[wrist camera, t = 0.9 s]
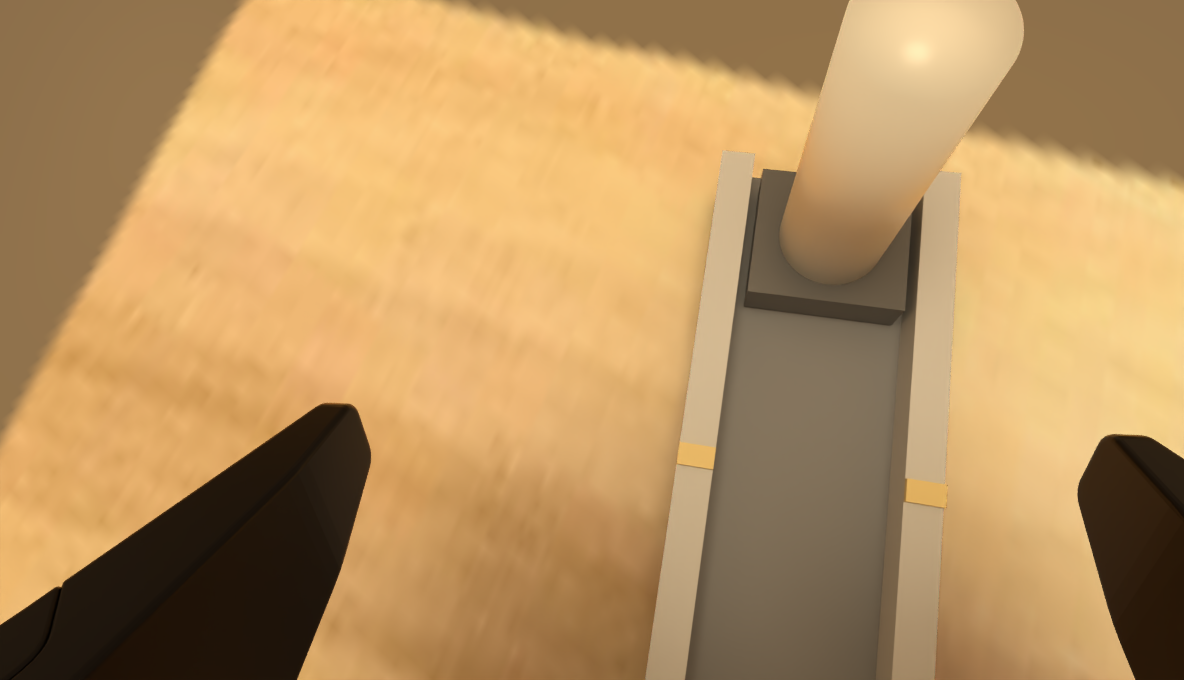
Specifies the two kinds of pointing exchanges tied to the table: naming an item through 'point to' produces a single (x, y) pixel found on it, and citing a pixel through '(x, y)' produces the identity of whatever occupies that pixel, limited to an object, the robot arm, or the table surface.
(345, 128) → the table surface
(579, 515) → the table surface
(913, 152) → the fader slider
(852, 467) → the fader console
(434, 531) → the table surface
